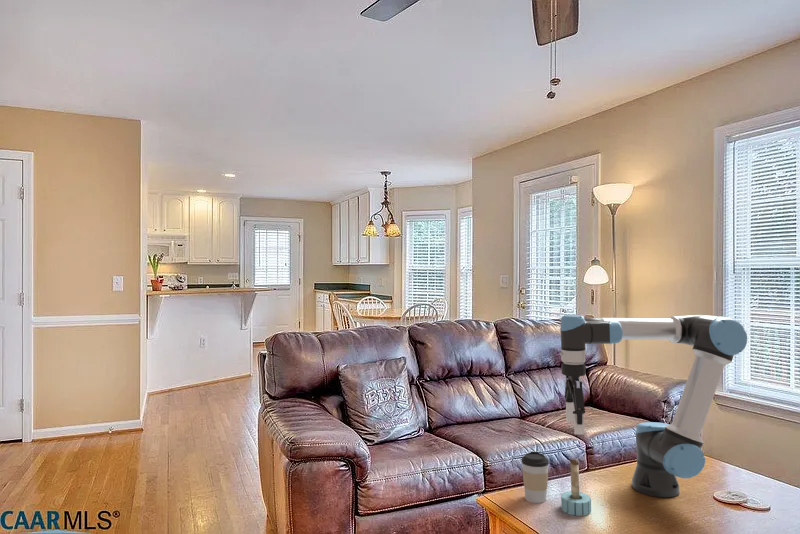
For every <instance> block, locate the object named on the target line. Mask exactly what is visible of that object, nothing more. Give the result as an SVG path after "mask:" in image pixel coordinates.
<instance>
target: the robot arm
mask: <svg viewBox="0 0 800 534" xmlns="http://www.w3.org/2000/svg"><path fill="white" fill-rule="evenodd" d="M559 331H560V350H561V352H559V356H561V358H560V359H561V362H562V363H561V368H560V369H561V375H563V376H565V387H564V399H565V416H566V417H565V419H566V423H573V424H574V425H573V426H574V428H573V430H574V431H573V432H574V435H585V428H584V427H585V425H584V424H585V421H584V418H585V417H584V414H586V408H585V407H586V406H585V401H584V400H585V399H584V393H583V392H584V390H583V381H581V380H580V377H584V376H585V375H586V369H587V367H586V364H585V363H586V345H595V344H596V345H599V344H600V345H607V344H608V345H612V344H619V343H620V342H621V341H622V340H635V341H636V340H639V341H641V340H642V341H643V340H644V341H669V342H671V343H672V344H682V345H688V346H692V349H691V350H692V352H693V353H694V360H693V362H692V365H691V368H690V370H689V374H688V377H687V380H686V382H685V385H684V388H683V391H682V394H681V395H680V396H681V397H680V399H679V403H678V405H677V408H676V411H675V414H674V416H673V419H672V422H671V423H670V424H669V423H665V422H656V421H655V422H653V421H648V422H647V421H646V422H640V423H637V425H636V430H635V439H636V441H635V443H636V466H635V470H634V473H633V474H632V478H631V486H632V488H633V489H634V490H635V491H637V492H638V493H640V494H641V493H642V494H644V495H647V496H651V497H657V498H672V497H676V496H678V495H680V484H679V481H678V478H680V479H683V480H684V479H685V480H686V479H692V478H694V477H697V476H698V475H699V474H701V472H702V471H703V469H704V467H705V465H706V457H705V455H704V451H703V450H702V448H703V444H704V440H703V438H702V436H701V434H702V431H703V429H704V426H705V423H706V420H707V417H708V414H709V411H710V408H711V405H712V402H713V400H714V396H715V394H716V391H717V387H718V385H719V382H720V380H721V376H722V375H723V371H724V368H725V366H726V365H728V364H732V361H733V360H734V359H733V358H734V356H735V355H738V354H739V353H742V352H743V351H744V349H746V346H747V343H748V335H747V331H746V330H745V328H744V326H743V325H742V324H741V322H739V321H737V320H736V319H734V318H731V317H726V316H722V315H721V316H719V315H709V314H691V315H672V316H670V317H668V318H647V317H645V318H644V317H643V318H638V317H637V318H636V317H633V318H632V317H588V316H584V315H580V314H578V315H577V314H566V315H563V316H562V317H561V319H560V328H559Z"/></svg>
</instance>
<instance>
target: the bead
mask: <svg viewBox="0 0 800 534" xmlns="http://www.w3.org/2000/svg"><path fill="white" fill-rule="evenodd" d="M579 495H580V500H575V499H572V496H571V490H570V491H569V490H568V491H564V492H562V493H561V495H560V497H561V498H560V501H561V507H562V508H561V510H562V511H563V512H564V513H566V514H569V515H571V516H578V517H581V516H588V515H590V514H591V513H592V498H591V496H590V495H589V494H588V493H587V494H586V493H585V492H580V491H579Z"/></svg>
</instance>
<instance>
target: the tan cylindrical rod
mask: <svg viewBox="0 0 800 534" xmlns="http://www.w3.org/2000/svg"><path fill="white" fill-rule="evenodd" d="M569 464H570V486H571V487H570V489H571V490H570V491H571V496H572V499H575V500H580V495H579V492H580V473H579V470H580V469H579V467H580V466H579V459H577V458H570V461H569Z"/></svg>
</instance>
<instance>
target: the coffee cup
mask: <svg viewBox="0 0 800 534" xmlns="http://www.w3.org/2000/svg"><path fill="white" fill-rule="evenodd" d="M521 464H522V465H521V466H522V469H521V470H522V480H523V489H524V495H525V498H524V499H525V500H526V501H528V502H529V503H534V504H542V502H543V503H545V502H546V501H547V493H548V490H547V489H548V481H549V464H550V463H549V459H548V458H547V457H546V456H545V455H544V454H541V453H540V452H538V451H530V452H528V453H525V454H524V455H523V456H522V457H521Z"/></svg>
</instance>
